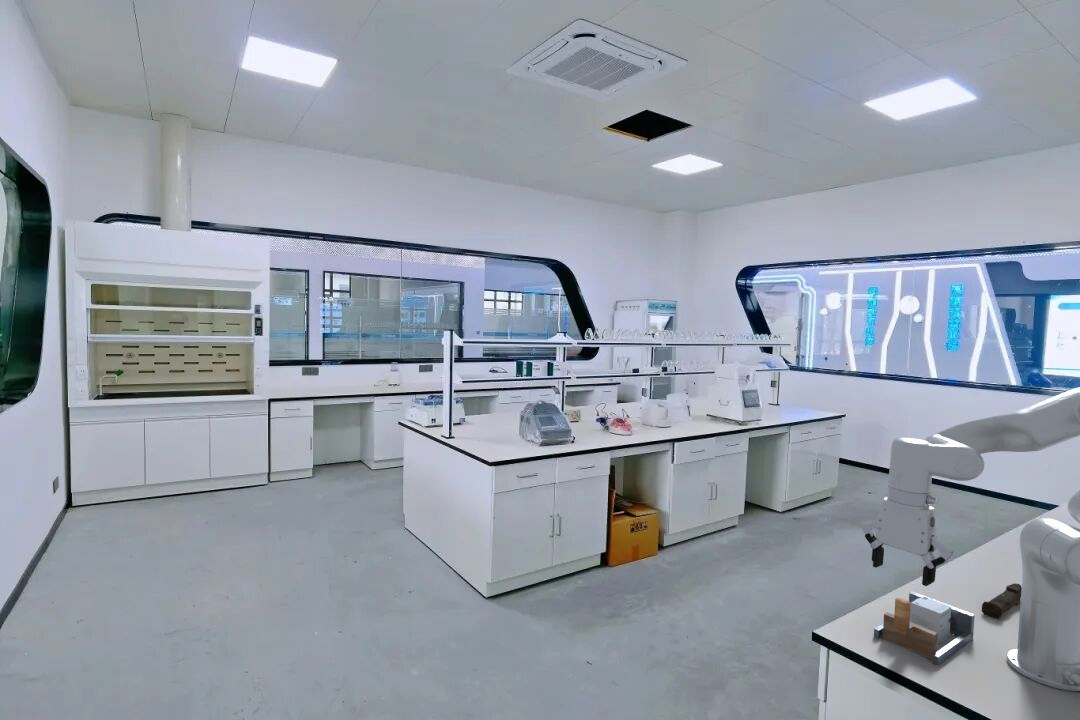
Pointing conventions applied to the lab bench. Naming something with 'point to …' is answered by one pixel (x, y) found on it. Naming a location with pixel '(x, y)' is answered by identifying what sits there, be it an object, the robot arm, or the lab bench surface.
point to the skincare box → (932, 616)
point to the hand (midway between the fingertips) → (901, 574)
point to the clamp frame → (958, 626)
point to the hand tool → (1003, 601)
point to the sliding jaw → (908, 631)
